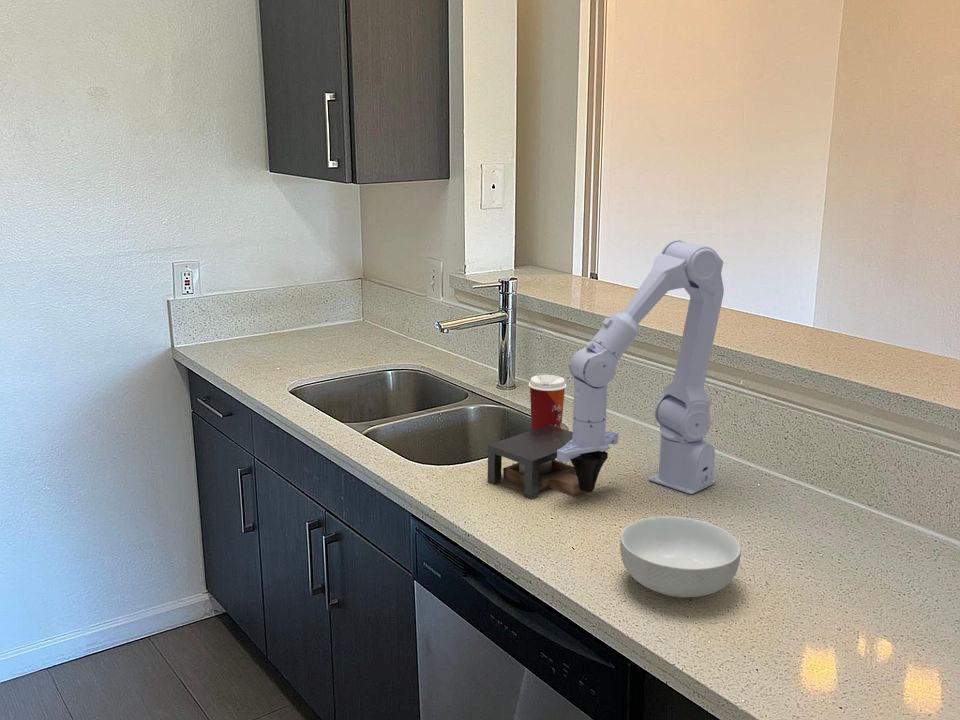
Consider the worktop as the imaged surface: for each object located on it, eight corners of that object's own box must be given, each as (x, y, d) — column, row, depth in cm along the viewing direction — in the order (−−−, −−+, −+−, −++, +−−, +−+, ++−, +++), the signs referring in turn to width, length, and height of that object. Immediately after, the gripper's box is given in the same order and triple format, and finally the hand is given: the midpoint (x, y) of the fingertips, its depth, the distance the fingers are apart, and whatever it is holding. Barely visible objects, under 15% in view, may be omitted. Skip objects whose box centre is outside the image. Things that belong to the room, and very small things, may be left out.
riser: (591, 474, 173) (593, 438, 171) (531, 499, 161) (532, 461, 160) (548, 459, 180) (549, 424, 179) (487, 481, 169) (487, 445, 167)
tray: (598, 485, 168) (599, 462, 166) (562, 501, 161) (563, 477, 160) (539, 464, 178) (539, 442, 176) (503, 478, 171) (503, 455, 170)
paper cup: (562, 452, 184) (564, 385, 181) (524, 449, 186) (525, 382, 182) (566, 439, 192) (568, 374, 188) (530, 436, 193) (531, 372, 189)
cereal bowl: (666, 626, 122) (670, 578, 120) (595, 572, 136) (597, 528, 134) (763, 597, 129) (767, 551, 127) (685, 549, 143) (688, 507, 142)
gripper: (580, 432, 152) (577, 508, 155) (633, 413, 162) (629, 485, 165) (548, 422, 157) (546, 496, 160) (601, 404, 167) (598, 474, 170)
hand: (586, 490), depth 163 cm, fingers closed, pressing on tray
